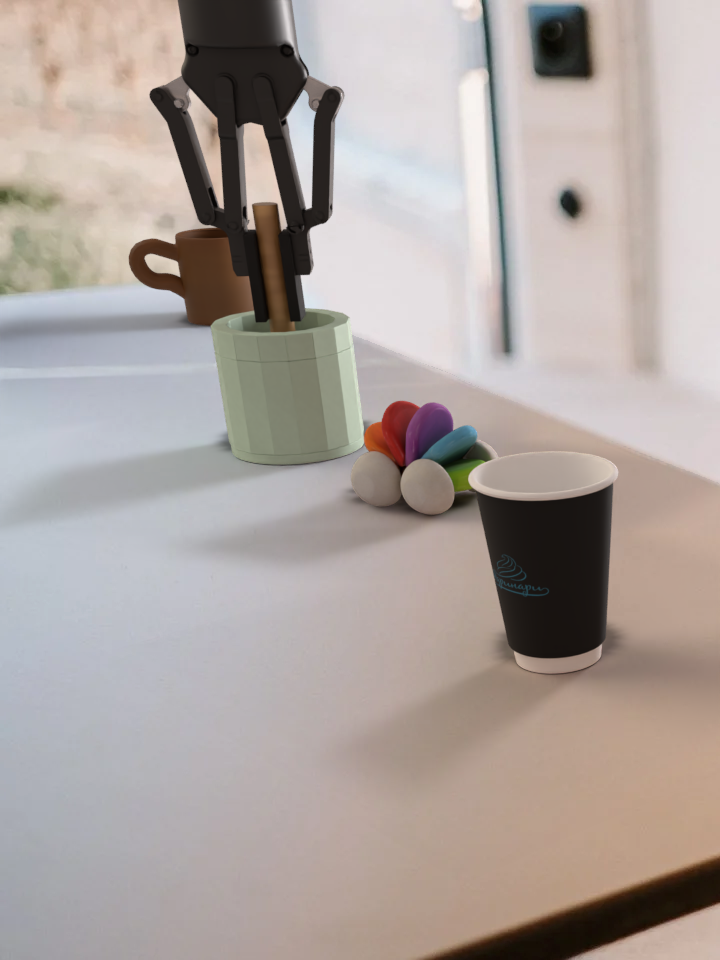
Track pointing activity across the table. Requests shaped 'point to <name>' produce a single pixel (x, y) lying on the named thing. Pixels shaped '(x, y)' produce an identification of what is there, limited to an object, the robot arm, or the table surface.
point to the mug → (196, 274)
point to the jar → (289, 388)
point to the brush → (272, 265)
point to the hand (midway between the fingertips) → (281, 317)
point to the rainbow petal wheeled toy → (417, 458)
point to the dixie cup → (549, 553)
